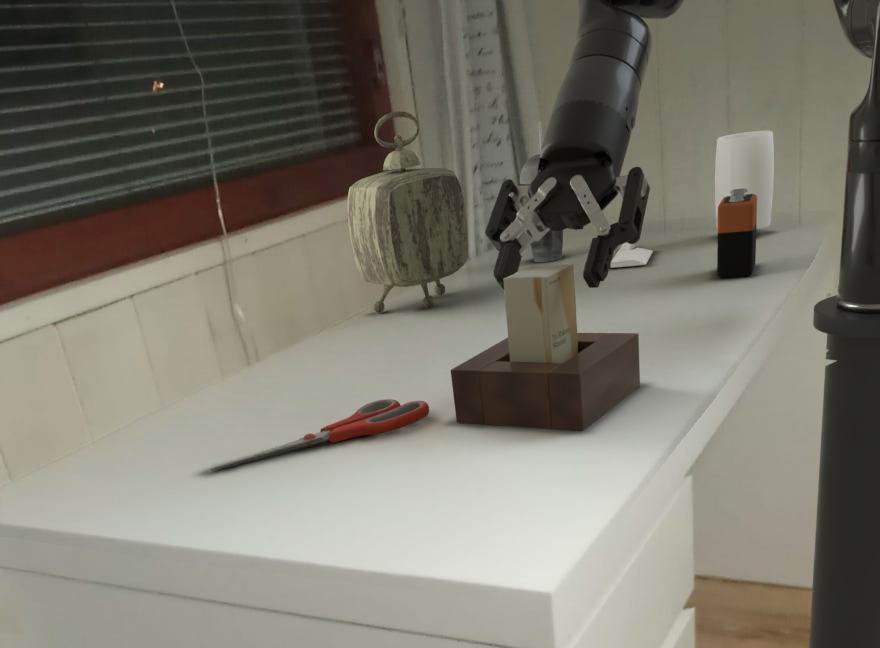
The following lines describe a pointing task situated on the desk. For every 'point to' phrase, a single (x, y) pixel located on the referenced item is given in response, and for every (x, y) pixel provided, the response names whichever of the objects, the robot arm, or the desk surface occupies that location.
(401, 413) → the scissors
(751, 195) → the battery
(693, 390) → the desk surface
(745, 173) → the cup
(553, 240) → the beverage cup
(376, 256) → the tabletop clock
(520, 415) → the holder
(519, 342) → the cosmetic box
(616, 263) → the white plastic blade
